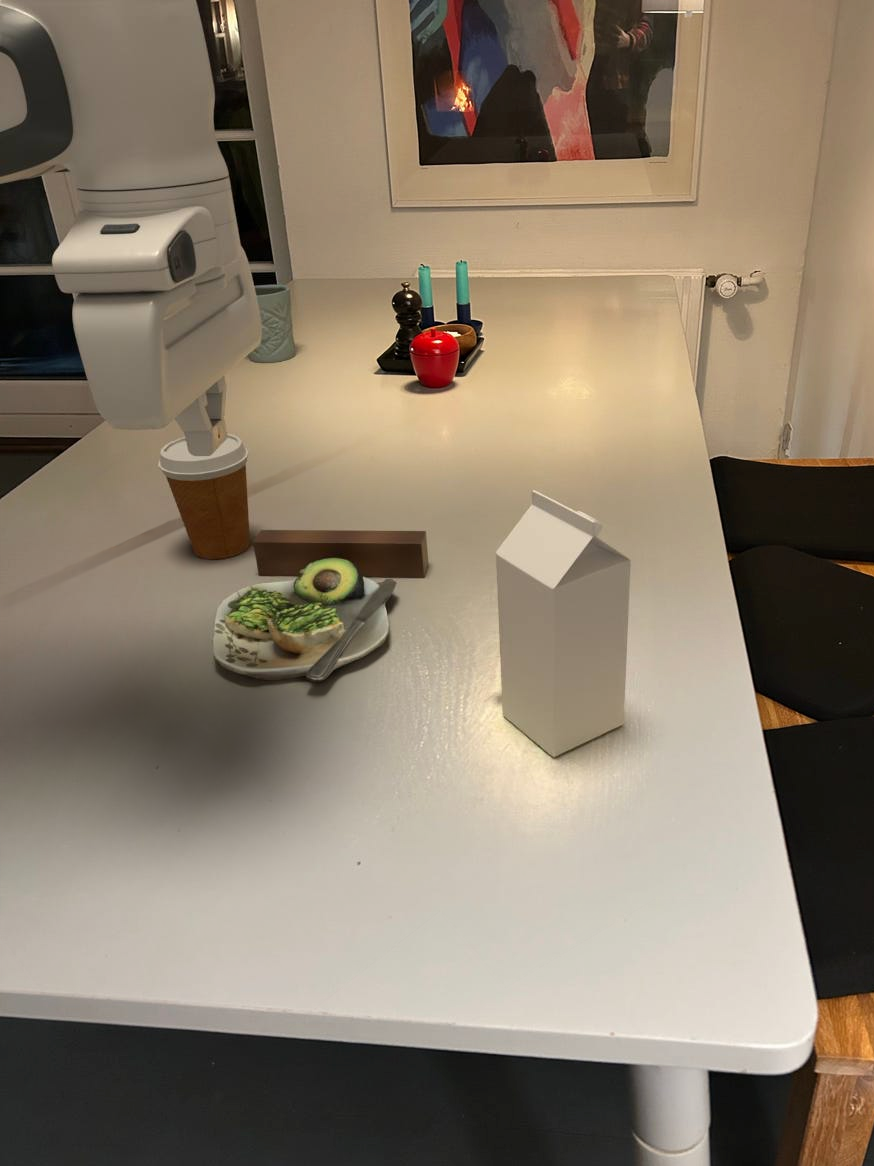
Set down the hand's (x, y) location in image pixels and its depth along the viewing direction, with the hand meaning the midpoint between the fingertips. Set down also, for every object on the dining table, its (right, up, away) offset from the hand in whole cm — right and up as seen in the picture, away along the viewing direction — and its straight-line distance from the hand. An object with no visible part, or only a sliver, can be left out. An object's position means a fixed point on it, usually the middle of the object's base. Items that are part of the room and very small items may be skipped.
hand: (209, 448), depth 65 cm
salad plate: (+2, -12, +26) cm, 29 cm away
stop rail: (+4, -6, +36) cm, 37 cm away
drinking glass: (-20, +40, +112) cm, 121 cm away
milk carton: (+25, -20, +12) cm, 34 cm away
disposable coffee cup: (-11, -3, +43) cm, 44 cm away
